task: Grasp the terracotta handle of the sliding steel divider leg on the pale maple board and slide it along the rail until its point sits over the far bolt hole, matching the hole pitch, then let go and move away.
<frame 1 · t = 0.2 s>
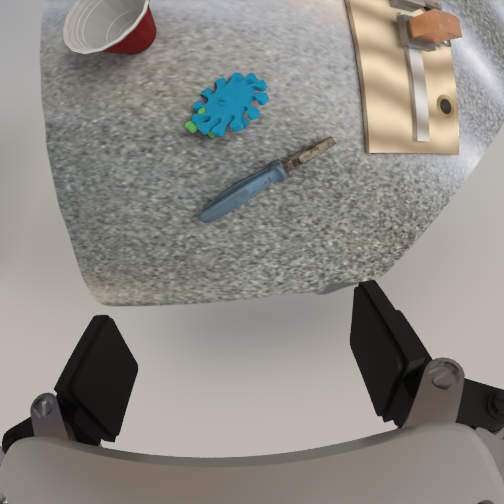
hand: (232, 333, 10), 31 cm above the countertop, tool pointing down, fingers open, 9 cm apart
plastic cup: (138, 35, 28), on the countertop
pliers: (265, 172, 38), on the countertop
pitch board: (407, 60, 30), on the countertop
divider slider: (439, 32, 22), point 7 cm above the countertop, slide at 0.0 cm
gear: (226, 106, 34), on the countertop
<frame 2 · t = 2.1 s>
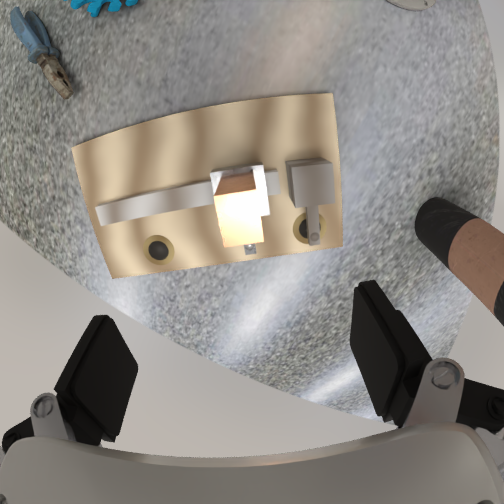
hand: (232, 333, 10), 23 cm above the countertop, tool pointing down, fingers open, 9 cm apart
travel mug: (433, 220, 34), on the countertop
pliers: (53, 49, 21), on the countertop
pitch board: (205, 188, 31), on the countertop
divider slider: (244, 223, 26), point 7 cm above the countertop, slide at 0.0 cm
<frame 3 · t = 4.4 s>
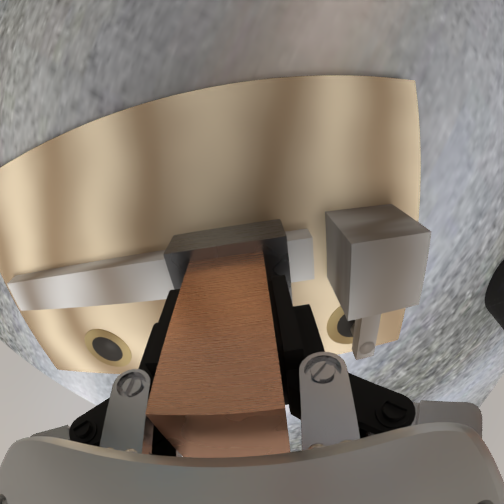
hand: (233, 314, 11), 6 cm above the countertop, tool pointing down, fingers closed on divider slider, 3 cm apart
pitch board: (171, 257, 17), on the countertop
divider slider: (243, 366, 11), point 7 cm above the countertop, slide at 0.0 cm, touching gripper
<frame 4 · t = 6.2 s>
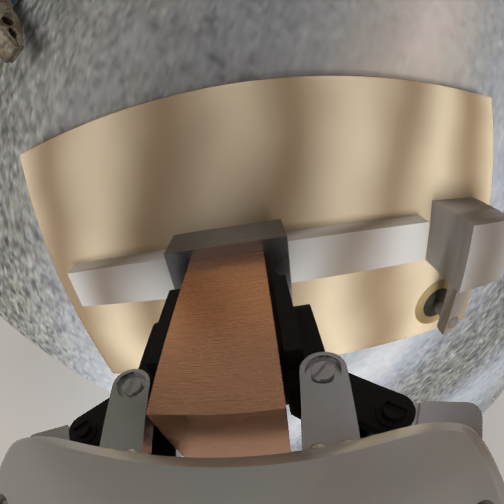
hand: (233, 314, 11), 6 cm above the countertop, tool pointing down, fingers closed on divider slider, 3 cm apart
pitch board: (286, 240, 16), on the countertop
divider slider: (243, 366, 11), point 7 cm above the countertop, slide at 7.0 cm, touching gripper
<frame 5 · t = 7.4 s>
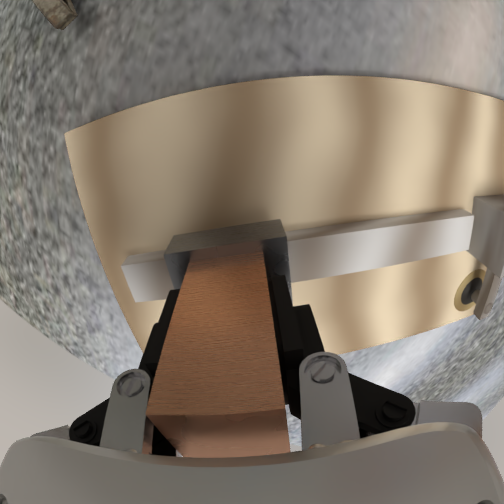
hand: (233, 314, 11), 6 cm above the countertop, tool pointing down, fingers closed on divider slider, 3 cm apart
pitch board: (350, 231, 16), on the countertop
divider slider: (243, 366, 11), point 7 cm above the countertop, slide at 11.0 cm, touching gripper
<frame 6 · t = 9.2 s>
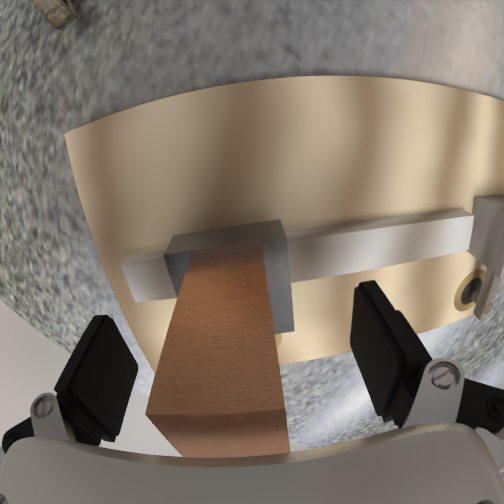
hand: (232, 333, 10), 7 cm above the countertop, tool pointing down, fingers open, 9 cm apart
pitch board: (350, 231, 16), on the countertop
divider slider: (242, 366, 11), point 7 cm above the countertop, slide at 11.0 cm
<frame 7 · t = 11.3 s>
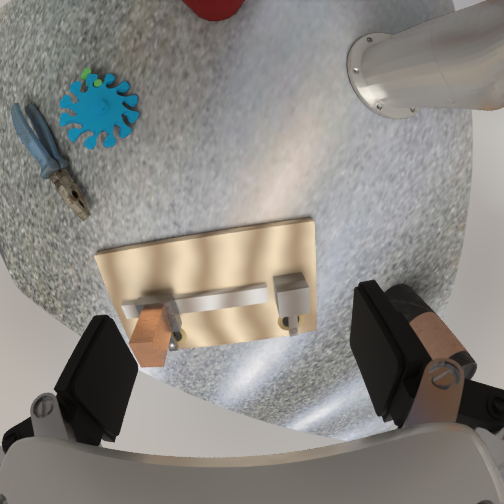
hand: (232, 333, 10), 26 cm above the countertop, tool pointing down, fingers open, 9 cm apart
plastic cup: (218, 4, 24), on the countertop
travel mug: (394, 300, 44), on the countertop
pliers: (61, 154, 30), on the countertop
pitch board: (210, 292, 40), on the countertop
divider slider: (160, 341, 34), point 7 cm above the countertop, slide at 11.0 cm
gear: (111, 106, 28), on the countertop
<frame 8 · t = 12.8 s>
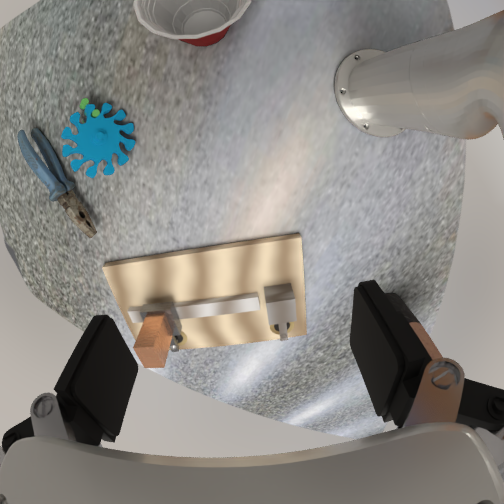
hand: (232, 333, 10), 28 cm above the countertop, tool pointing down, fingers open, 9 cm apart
plastic cup: (206, 28, 26), on the countertop
travel mug: (383, 308, 46), on the countertop
pliers: (67, 175, 34), on the countertop
pitch board: (207, 299, 44), on the countertop
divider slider: (161, 344, 39), point 7 cm above the countertop, slide at 11.0 cm
gear: (110, 132, 32), on the countertop
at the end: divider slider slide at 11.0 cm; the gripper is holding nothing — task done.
